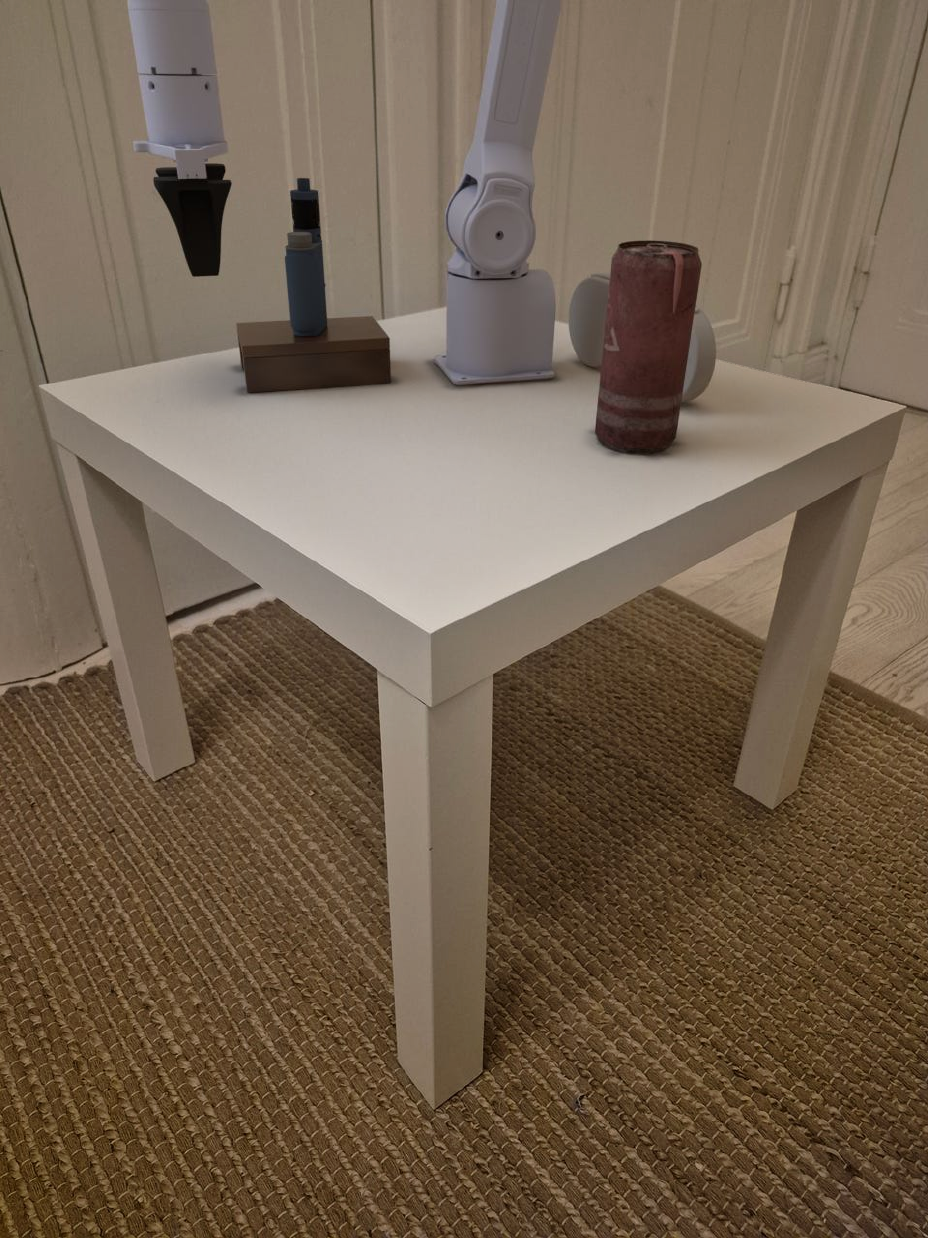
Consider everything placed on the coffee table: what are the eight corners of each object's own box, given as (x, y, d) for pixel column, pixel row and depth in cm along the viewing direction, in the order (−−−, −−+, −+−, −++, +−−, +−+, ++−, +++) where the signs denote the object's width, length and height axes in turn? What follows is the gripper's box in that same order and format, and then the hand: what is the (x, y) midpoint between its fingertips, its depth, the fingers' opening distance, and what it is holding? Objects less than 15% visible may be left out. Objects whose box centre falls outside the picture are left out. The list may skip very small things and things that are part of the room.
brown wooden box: (374, 358, 86) (372, 315, 84) (391, 382, 79) (389, 337, 77) (241, 366, 83) (236, 322, 81) (247, 392, 76) (241, 346, 74)
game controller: (710, 412, 74) (727, 309, 69) (688, 416, 73) (704, 311, 69) (584, 352, 89) (591, 264, 84) (564, 355, 88) (571, 266, 83)
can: (627, 462, 64) (652, 256, 57) (578, 434, 69) (595, 240, 62) (693, 449, 67) (725, 250, 59) (641, 422, 71) (665, 235, 64)
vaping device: (331, 323, 81) (321, 177, 75) (317, 338, 77) (306, 184, 70) (303, 322, 81) (291, 176, 75) (288, 337, 77) (274, 183, 70)
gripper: (126, 72, 72) (155, 252, 79) (117, 75, 60) (152, 286, 67) (215, 73, 73) (236, 249, 81) (224, 76, 62) (247, 282, 69)
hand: (204, 266), depth 74 cm, fingers open, 7 cm apart
